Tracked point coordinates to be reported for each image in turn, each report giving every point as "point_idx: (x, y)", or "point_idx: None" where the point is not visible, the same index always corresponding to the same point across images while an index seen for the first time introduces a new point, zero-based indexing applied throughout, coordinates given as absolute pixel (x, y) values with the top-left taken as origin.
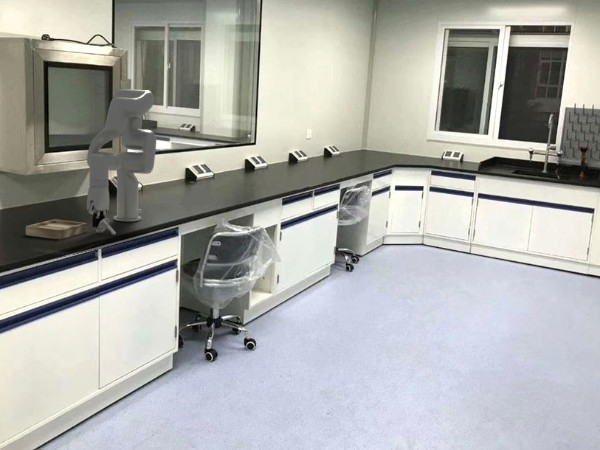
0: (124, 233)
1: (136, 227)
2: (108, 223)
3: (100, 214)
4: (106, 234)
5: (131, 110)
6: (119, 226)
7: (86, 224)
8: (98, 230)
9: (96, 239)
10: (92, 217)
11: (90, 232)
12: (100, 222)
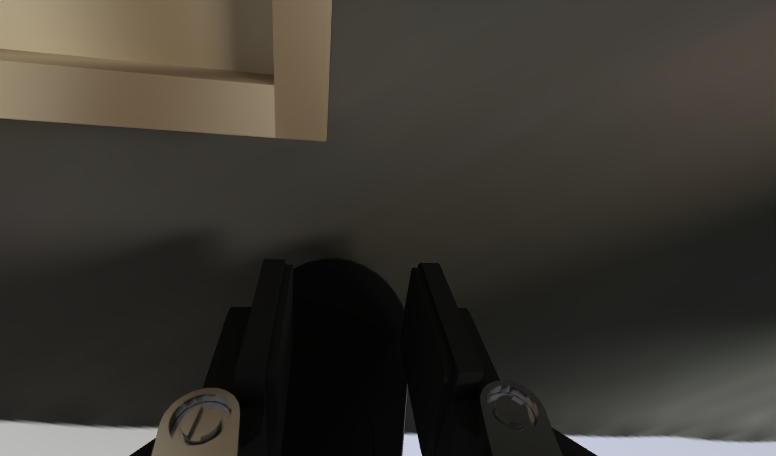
0: None
1: (707, 385)
2: (390, 431)
3: (476, 448)
4: None
5: None
6: (752, 261)
7: (301, 131)
8: (296, 297)
9: (23, 390)
10: (175, 420)
11: (311, 162)
12: None
